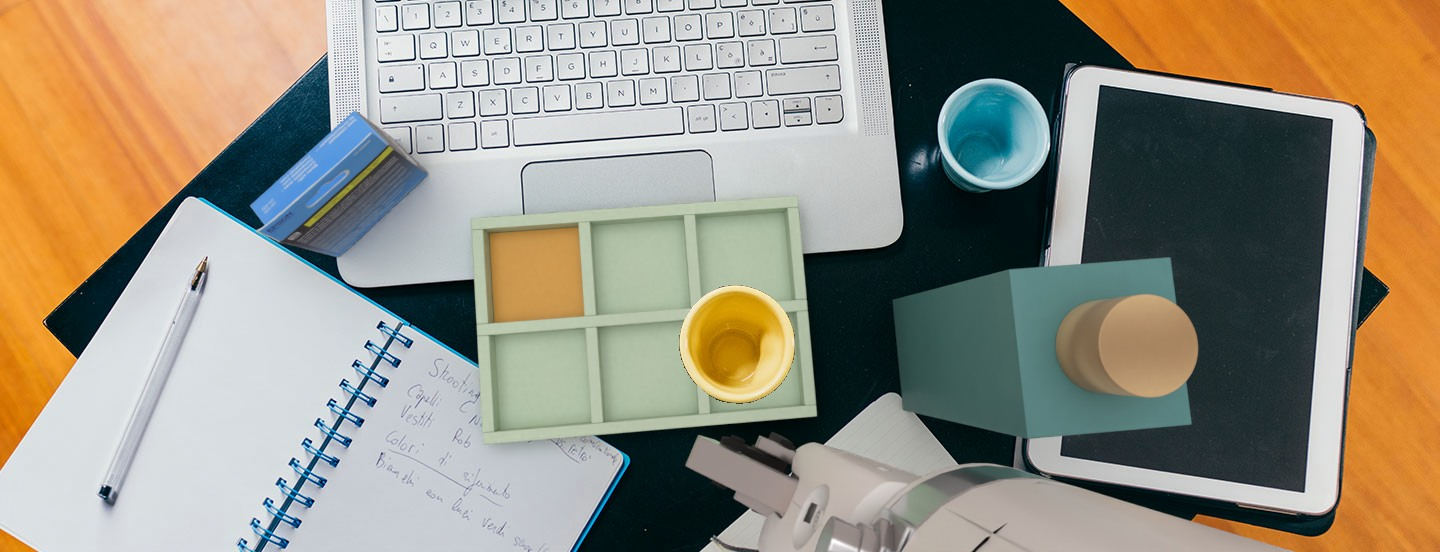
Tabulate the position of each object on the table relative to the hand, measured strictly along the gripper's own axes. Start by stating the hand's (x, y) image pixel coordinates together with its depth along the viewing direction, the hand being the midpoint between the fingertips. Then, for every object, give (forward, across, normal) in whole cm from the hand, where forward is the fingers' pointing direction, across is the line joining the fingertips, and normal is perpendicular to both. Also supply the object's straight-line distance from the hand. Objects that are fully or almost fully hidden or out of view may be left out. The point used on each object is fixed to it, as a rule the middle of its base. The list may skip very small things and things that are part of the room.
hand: (860, 508), depth 40 cm
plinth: (+22, +8, +12) cm, 26 cm away
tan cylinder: (0, +8, +11) cm, 14 cm away
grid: (+22, -14, +5) cm, 26 cm away
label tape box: (+22, -35, +5) cm, 42 cm away
